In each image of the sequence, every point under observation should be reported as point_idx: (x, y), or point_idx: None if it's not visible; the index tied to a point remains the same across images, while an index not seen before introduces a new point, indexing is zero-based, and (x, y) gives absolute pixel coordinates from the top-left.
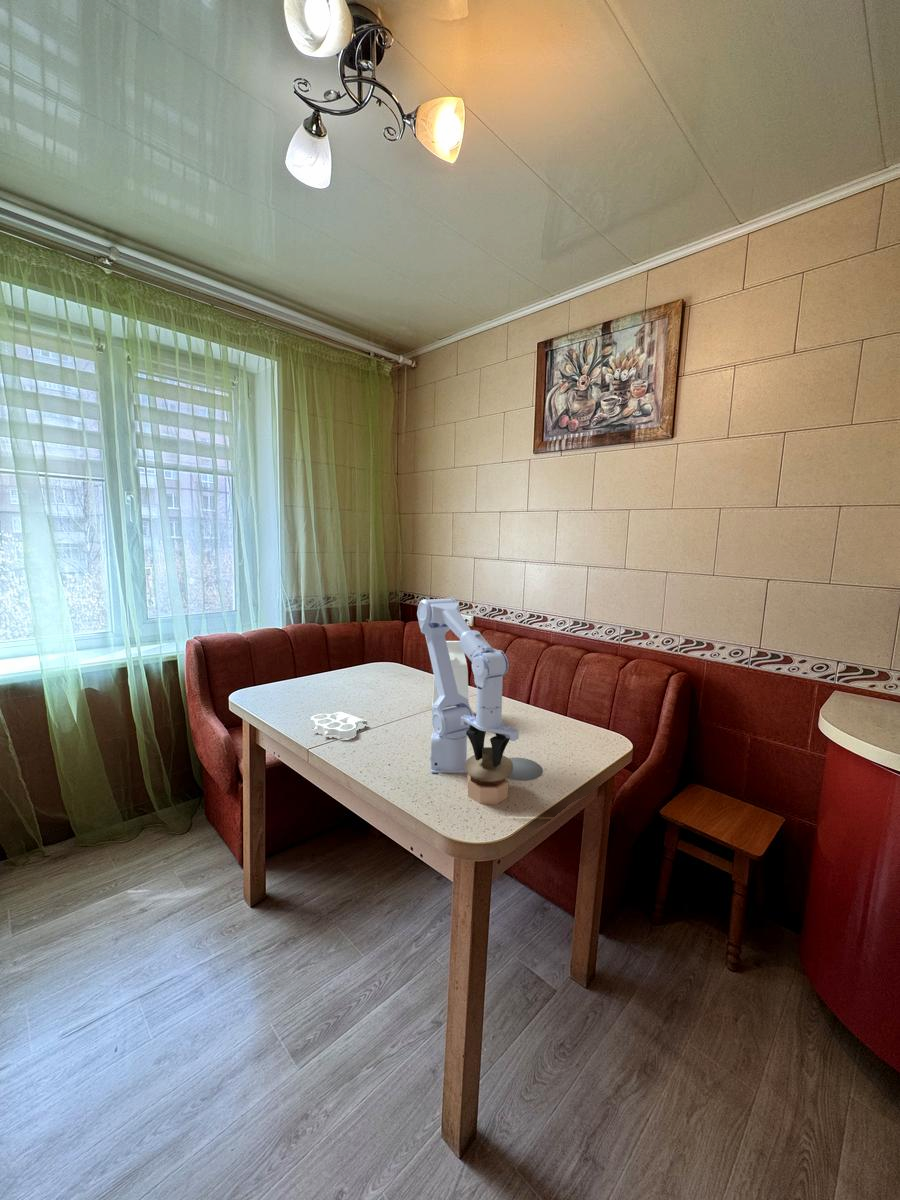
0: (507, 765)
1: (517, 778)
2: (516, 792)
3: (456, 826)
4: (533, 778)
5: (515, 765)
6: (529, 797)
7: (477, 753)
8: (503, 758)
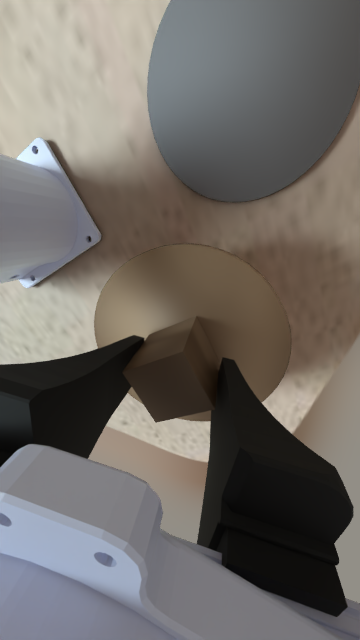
0: (261, 328)
1: (260, 183)
2: (276, 267)
3: (190, 438)
4: (325, 141)
5: (223, 66)
6: (324, 275)
7: (126, 390)
8: (223, 277)
